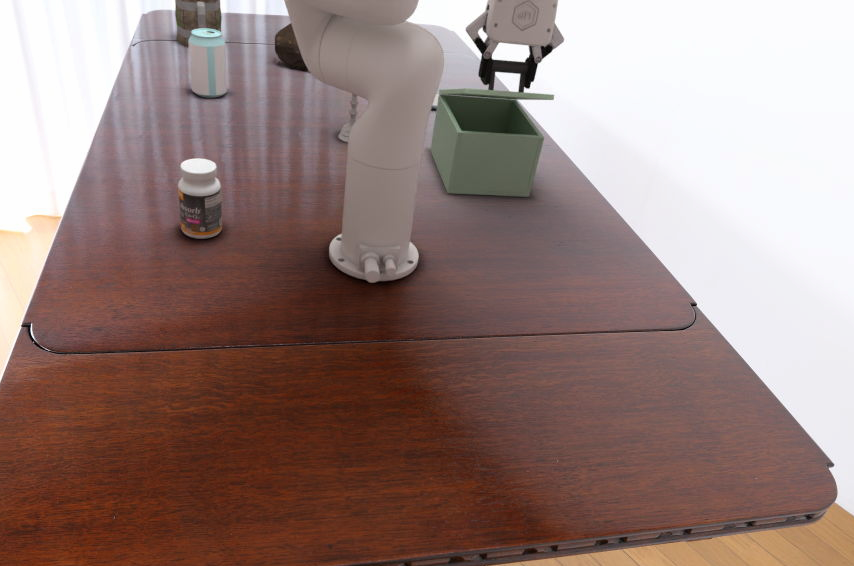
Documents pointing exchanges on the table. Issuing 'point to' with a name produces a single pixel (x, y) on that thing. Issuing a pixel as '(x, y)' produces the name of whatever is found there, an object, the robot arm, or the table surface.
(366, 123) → the robot arm
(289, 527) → the table surface
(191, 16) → the mug
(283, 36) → the dark brown bone
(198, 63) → the can
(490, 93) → the lid
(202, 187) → the pill bottle
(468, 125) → the dish box
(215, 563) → the table surface
